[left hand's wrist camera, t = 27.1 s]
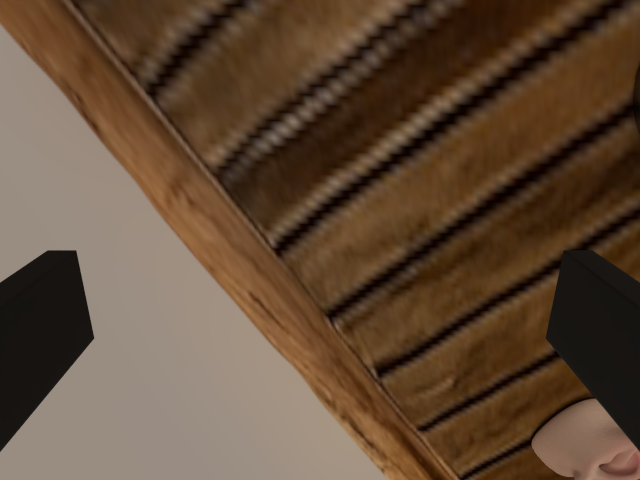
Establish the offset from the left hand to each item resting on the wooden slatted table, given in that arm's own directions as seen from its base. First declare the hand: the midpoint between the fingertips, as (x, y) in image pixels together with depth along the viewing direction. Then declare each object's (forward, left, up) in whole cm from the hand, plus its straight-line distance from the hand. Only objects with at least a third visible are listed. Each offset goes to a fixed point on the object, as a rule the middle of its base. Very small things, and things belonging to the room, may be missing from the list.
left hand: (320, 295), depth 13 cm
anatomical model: (-2, +44, -27) cm, 51 cm away
